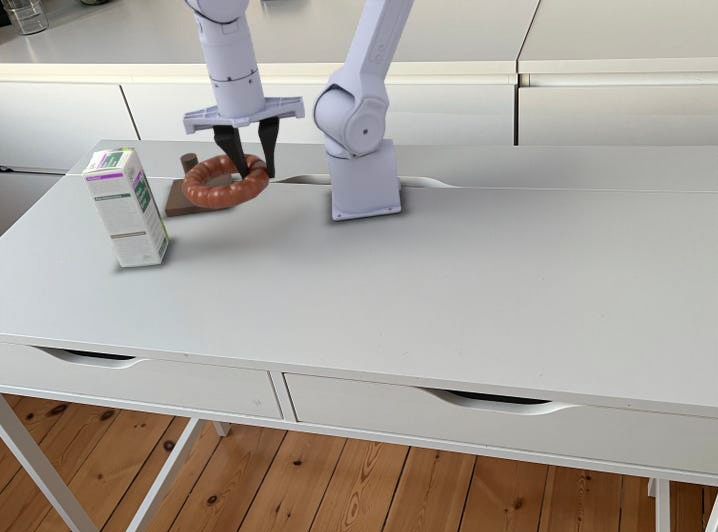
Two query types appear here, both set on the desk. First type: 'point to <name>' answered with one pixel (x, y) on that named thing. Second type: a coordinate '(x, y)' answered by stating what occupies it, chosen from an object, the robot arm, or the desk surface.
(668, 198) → the desk surface
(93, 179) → the syrup box
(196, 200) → the ring
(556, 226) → the desk surface
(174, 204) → the post
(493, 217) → the desk surface
